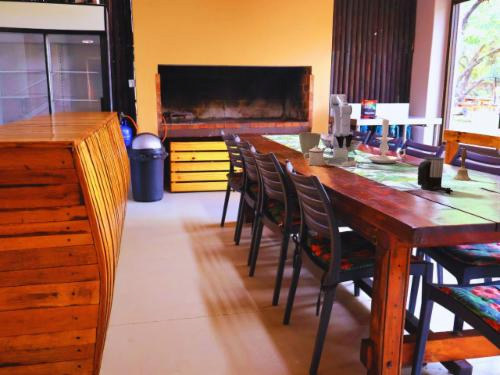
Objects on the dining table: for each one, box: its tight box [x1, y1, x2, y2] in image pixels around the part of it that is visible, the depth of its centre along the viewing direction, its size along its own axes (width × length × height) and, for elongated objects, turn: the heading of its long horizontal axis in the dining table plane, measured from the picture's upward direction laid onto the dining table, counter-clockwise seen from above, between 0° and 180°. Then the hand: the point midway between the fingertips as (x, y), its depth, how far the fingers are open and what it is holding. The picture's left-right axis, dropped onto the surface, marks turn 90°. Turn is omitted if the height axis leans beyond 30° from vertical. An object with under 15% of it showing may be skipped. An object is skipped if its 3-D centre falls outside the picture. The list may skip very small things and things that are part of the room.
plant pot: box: [298, 132, 322, 159], centre depth 313 cm, size 15×15×16 cm
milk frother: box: [417, 156, 454, 194], centre depth 209 cm, size 14×16×15 cm
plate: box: [335, 149, 350, 162], centre depth 282 cm, size 2×8×8 cm, turn 44°
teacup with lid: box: [303, 146, 325, 167], centre depth 281 cm, size 12×9×12 cm
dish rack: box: [325, 156, 358, 168], centre depth 282 cm, size 14×12×4 cm
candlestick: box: [366, 118, 407, 164], centre depth 289 cm, size 21×25×28 cm
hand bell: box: [452, 148, 472, 182], centre depth 236 cm, size 8×8×16 cm
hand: (344, 147), depth 283 cm, fingers open, 7 cm apart
